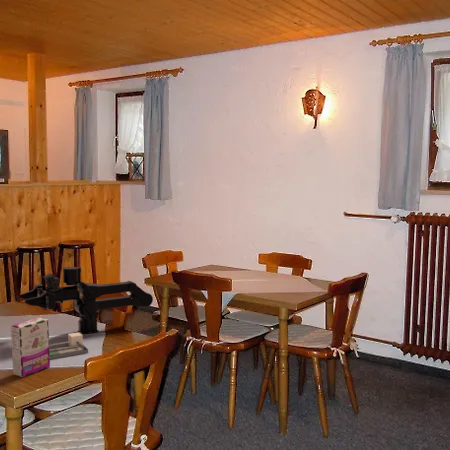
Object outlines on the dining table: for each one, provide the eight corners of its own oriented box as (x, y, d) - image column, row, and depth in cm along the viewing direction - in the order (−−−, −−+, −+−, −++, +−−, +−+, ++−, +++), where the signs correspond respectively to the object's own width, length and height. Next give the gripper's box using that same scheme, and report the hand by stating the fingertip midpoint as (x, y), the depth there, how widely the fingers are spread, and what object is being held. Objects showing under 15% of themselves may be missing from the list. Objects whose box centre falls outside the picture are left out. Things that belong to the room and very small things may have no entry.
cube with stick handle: (79, 342, 201) (79, 332, 200) (85, 348, 194) (85, 337, 194) (68, 344, 199) (68, 334, 198) (74, 350, 192) (74, 339, 192)
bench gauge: (76, 342, 205) (76, 329, 204) (88, 352, 194) (88, 338, 194) (24, 351, 195) (24, 337, 194) (33, 362, 184) (33, 347, 183)
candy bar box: (40, 364, 182) (39, 316, 181) (50, 367, 180) (49, 319, 178) (11, 374, 173) (10, 324, 171) (21, 378, 170) (20, 327, 168)
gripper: (56, 269, 219) (15, 273, 211) (70, 278, 204) (27, 282, 195) (56, 296, 220) (16, 301, 212) (71, 307, 205) (28, 312, 196)
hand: (22, 298), depth 204 cm, fingers open, 9 cm apart
